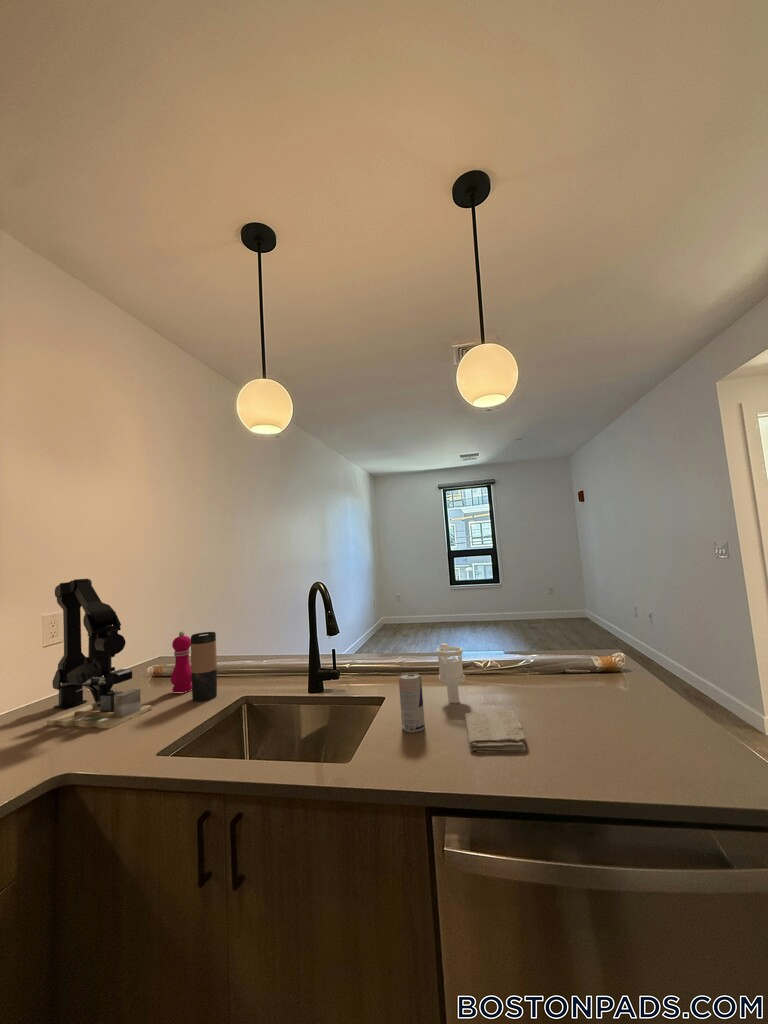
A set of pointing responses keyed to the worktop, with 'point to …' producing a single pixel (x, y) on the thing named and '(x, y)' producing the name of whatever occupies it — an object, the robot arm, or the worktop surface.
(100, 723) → the gauge board
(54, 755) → the worktop surface
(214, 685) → the travel mug
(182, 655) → the pepper mill
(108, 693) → the gauge slider
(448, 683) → the white stepped column
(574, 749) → the worktop surface
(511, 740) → the washcloth
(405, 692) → the energy drink
